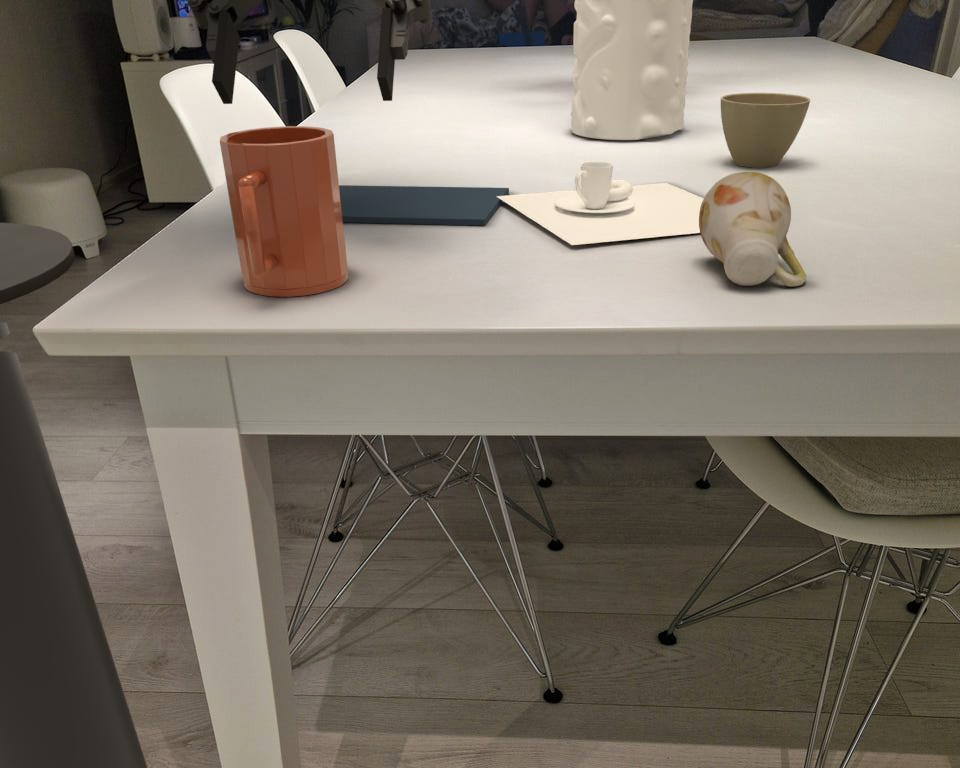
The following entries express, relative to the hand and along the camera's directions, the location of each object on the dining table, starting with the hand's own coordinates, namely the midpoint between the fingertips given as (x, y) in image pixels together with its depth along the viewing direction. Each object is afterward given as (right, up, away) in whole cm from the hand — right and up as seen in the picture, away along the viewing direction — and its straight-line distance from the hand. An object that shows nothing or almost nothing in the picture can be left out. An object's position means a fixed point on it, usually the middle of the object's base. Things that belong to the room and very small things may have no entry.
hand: (302, 91), depth 75 cm
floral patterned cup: (+36, -15, -1) cm, 39 cm away
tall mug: (-1, -16, -1) cm, 16 cm away
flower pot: (+48, +9, +35) cm, 60 cm away
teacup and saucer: (+29, -4, +16) cm, 33 cm away
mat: (+7, -2, +21) cm, 22 cm away
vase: (+35, +22, +56) cm, 70 cm away
